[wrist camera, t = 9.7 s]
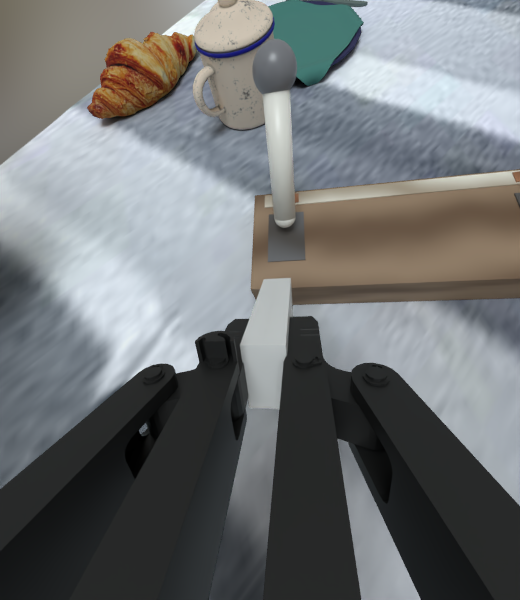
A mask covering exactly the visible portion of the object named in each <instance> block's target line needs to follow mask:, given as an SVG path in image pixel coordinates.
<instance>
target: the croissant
mask: <svg viewBox="0 0 520 600" xmlns="http://www.w3.org/2000/svg"><path fill="white" fill-rule="evenodd" d="M196 51H197V49H196V46H195V38H194V36H193V35H190V36H189V37H187V36H186V35H182V34H180V33H179V34H178V33H177V32H174V33H173V35H172V36H167V35H159V34H158V33H154V32H150V34H149V35H148V36H147V37H146V38H144V42H143V44H142V43H141V42H138V41H137V40H134V39H130V38H127V39H124V40H122V41H119V42H117V43H116V44H115V45H114V46H112V47H111V48H110V49H109V51H108V53H107V57H106V58H105V62H106V65H107V68H106V69H104V70H103V72H102V74H101V76H100V80H101V86H102V87H101V88H98V89H96V91H95V92H94V94H93V98H92V103H91V104H90V105H89V106H88V107H87V109H88V110H89V112H90V113H91V114H92V115H93V116H94V117H97V118H101V119H103V118H111V117H115V116H128V115H132V114H135V113H136V112H137V111H140V110H141V109H144V108H147V107H149V106H151V105H153V104H154V103H156V102H157V101H158V100H159V99H160V98H162V97H163V96H165V95H166V94H168V93H169V92H170V91H171V90H172V89H173V87H174V86H175V85H176V84H177V82H178V80H179V78H180V76H181V75H183V74H184V72H185V71H186V68H187V66H188V63H189V62H190V61H192V60H193V58H194V56H195V54H196Z"/></svg>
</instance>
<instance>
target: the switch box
mask: <svg viewBox="0 0 520 600" xmlns="http://www.w3.org/2000/svg"><path fill="white" fill-rule="evenodd" d="M295 215H296V217H295V221H294V223H293V224H292V225H291V226H290V227H287V228H282V227H280V226H278V225H277V224H276V222H275V219H274V210H273V200H272V194H267V195H257V196H255V208H254V230H253V252H252V274H251V291H252V293H253V295H254V297H255V299H257V296H258V294H259V291H260V288H261V285H262V283H263V280H264V279H278V278H291V290H292V305H301V304H335V303H368V302H401V301H435V300H468V299H502V298H520V169H517V170H507V171H497V172H487V173H477V174H467V175H457V176H447V177H437V178H427V179H417V180H407V181H397V182H387V183H377V184H367V185H357V186H347V187H337V188H327V189H317V190H307V191H297V192H295Z"/></svg>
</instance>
